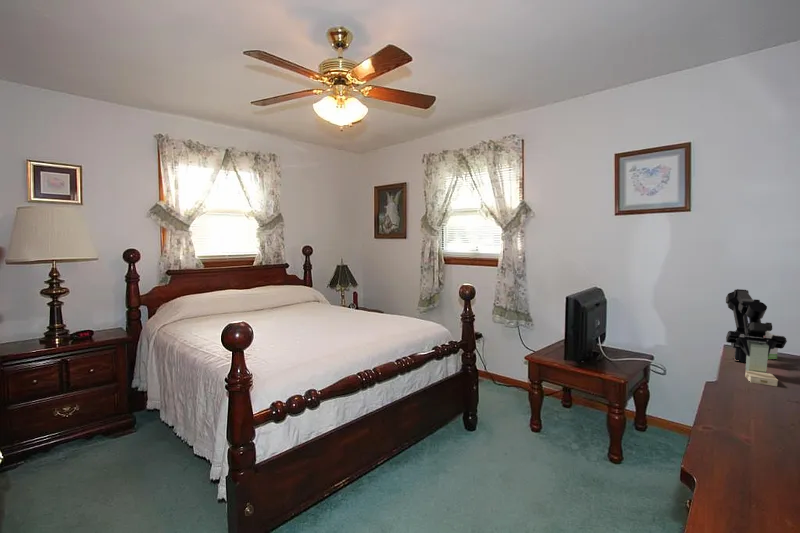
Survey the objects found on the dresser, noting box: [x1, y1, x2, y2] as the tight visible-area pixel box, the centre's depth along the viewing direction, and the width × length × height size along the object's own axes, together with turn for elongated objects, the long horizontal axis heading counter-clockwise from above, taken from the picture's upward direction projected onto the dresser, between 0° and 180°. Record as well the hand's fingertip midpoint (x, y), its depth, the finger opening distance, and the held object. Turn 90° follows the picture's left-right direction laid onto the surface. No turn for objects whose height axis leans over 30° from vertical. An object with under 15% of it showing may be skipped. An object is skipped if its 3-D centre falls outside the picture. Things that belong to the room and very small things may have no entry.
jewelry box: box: [744, 369, 779, 387], centre depth 162 cm, size 8×8×3 cm
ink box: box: [762, 331, 780, 360], centre depth 194 cm, size 9×5×15 cm, turn 179°
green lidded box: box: [745, 341, 769, 373], centre depth 168 cm, size 6×6×12 cm
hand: (757, 356), depth 167 cm, fingers closed on green lidded box, 5 cm apart
